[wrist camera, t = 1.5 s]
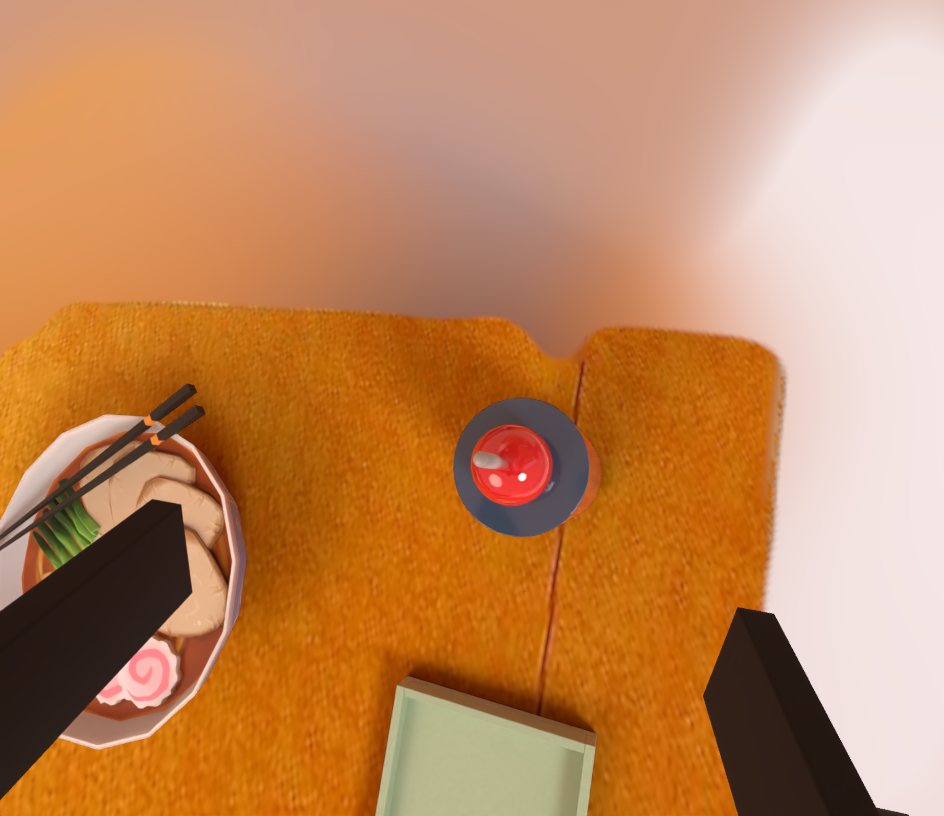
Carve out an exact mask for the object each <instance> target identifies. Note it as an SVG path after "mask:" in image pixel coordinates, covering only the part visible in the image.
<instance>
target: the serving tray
mask: <svg viewBox="0 0 944 816" xmlns="http://www.w3.org/2000/svg"><path fill="white" fill-rule="evenodd" d="M596 739H597V734H596V733H593V732H590V731H587V730H583V729H580V728H577V727H573V726H570V725H567V724H564V723H560V722H557V721H554V720H551V719H547V718H544V717H541V716H538V715H534V714H531V713H528V712H524V711H521V710H518V709H515V708H511V707H508V706H505V705H502V704H498V703H495V702H492V701H488V700H485V699H482V698H479V697H475V696H472V695H469V694H466V693H462V692H459V691H456V690H453V689H449V688H446V687H443V686H439V685H436V684H433V683H430V682H426V681H423V680H420V679H417V678H413V677H410V676H407V677H405V678H404V679H403V680H402V681H401V682H400V683H398V684H397V687H396V694H395V700H394V706H393V712H392V718H391V724H390V730H389V736H388V742H387V748H386V754H385V760H384V766H383V772H382V778H381V784H380V790H379V796H378V802H377V808H376V814H375V816H587V810H588V802H589V794H590V787H591V779H592V771H593V763H594V755H595V747H596Z"/></svg>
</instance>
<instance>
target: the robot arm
mask: <svg viewBox="0 0 944 816" xmlns="http://www.w3.org/2000/svg"><path fill="white" fill-rule="evenodd" d="M192 593H193V591H192V584H191V576H190V568H189V560H188V553H187V545H186V537H185V530H184V522H183V514H182V506H181V504H177V503H172V502H166V501H161V500H155V499H151V500H150V501H149V502H147V503H146V504H145V505H143V506H142V507H141V508H139V509H138V510H137V511H135V512H134V513H132V514H131V515H130V516H128V517H127V518H126V519H124V520H123V521H122V522H120V523H119V524H118V525H116V526H115V527H113V528H112V529H111V530H109V531H108V532H107V533H105V534H104V535H103V536H101V537H100V538H99V539H97V540H96V541H95V542H93V543H92V544H90V545H89V546H88V547H86V548H85V549H84V550H82V551H81V552H80V553H78V554H77V555H76V556H74V557H73V558H71V559H70V560H69V561H67V562H66V563H65V564H63V565H62V566H61V567H59V568H58V569H57V570H55V571H54V572H53V573H51V574H50V575H48V576H47V577H46V578H44V579H43V580H42V581H40V582H39V583H38V584H36V585H35V586H34V587H32V588H31V589H29V590H28V591H27V592H25V593H24V594H23V595H21V596H20V597H19V598H17V599H16V600H15V601H13V602H12V603H10V604H9V605H8V606H6V607H5V608H4V609H2V610H1V611H0V800H1V799H2V798H3V796H4V795H5V794H6V793H7V792H8V791H9V790H10V789H11V788H12V787H13V786H14V785H15V784H16V782H17V781H18V780H19V779H20V778H21V777H22V776H23V775H24V774H25V773H26V772H27V771H28V770H29V768H30V767H31V766H32V765H33V764H34V763H35V762H36V761H37V760H38V759H39V758H40V757H41V756H42V754H43V753H44V752H45V751H46V750H47V749H48V748H49V747H50V746H51V745H52V744H53V743H54V742H55V740H56V739H57V738H58V737H59V736H60V735H61V734H62V733H63V732H64V731H65V730H66V729H67V728H68V726H69V725H70V724H71V723H72V722H73V721H74V720H75V719H76V718H77V717H78V716H79V715H80V714H81V712H82V711H83V710H84V709H85V708H86V707H87V706H88V705H89V704H90V703H91V702H92V701H93V700H94V698H95V697H96V696H97V695H98V694H99V693H100V692H101V691H102V690H103V689H104V688H105V687H106V686H107V684H108V683H109V682H110V681H111V680H112V679H113V678H114V677H115V676H116V675H117V674H118V673H119V671H120V670H121V669H122V668H123V667H124V666H125V665H126V664H127V663H128V662H129V661H130V660H131V659H132V657H133V656H134V655H135V654H136V653H137V652H138V651H139V650H140V649H141V648H142V647H143V646H144V645H145V643H146V642H147V641H148V640H149V639H150V638H151V637H152V636H153V635H154V634H155V633H156V632H157V631H158V629H159V628H160V627H161V626H162V625H163V624H164V623H165V622H166V621H167V620H168V619H169V618H170V617H171V615H172V614H173V613H174V612H175V611H176V610H177V609H178V608H179V607H180V606H181V605H182V604H183V603H184V601H185V600H186V599H187V598H188V597H189V596H190V595H191V594H192ZM703 698H704V701H705V704H706V708H707V711H708V714H709V718H710V721H711V725H712V728H713V731H714V735H715V738H716V742H717V745H718V748H719V752H720V755H721V758H722V762H723V765H724V769H725V772H726V775H727V779H728V782H729V785H730V789H731V792H732V796H733V799H734V802H735V806H736V809H737V812H738V816H909V815H907V814H904V813H899V812H894V811H890V810H885V809H880V808H876V807H875V805H874V803H873V801H872V799H871V797H870V795H869V793H868V791H867V790H866V787H865V786H864V784H863V782H862V780H861V778H860V776H859V774H858V773H857V770H856V768H855V767H854V765H853V763H852V761H851V759H850V757H849V755H848V753H847V752H846V750H845V748H844V746H843V744H842V742H841V740H840V738H839V736H838V734H837V733H836V731H835V729H834V727H833V725H832V723H831V721H830V719H829V718H828V715H827V714H826V712H825V710H824V708H823V706H822V704H821V702H820V700H819V698H818V697H817V694H816V693H815V691H814V689H813V687H812V685H811V683H810V681H809V680H808V677H807V676H806V674H805V672H804V670H803V668H802V666H801V664H800V662H799V661H798V658H797V656H796V655H795V653H794V651H793V649H792V647H791V645H790V644H789V641H788V639H787V637H786V636H785V634H784V632H783V630H782V628H781V626H780V624H779V622H778V620H777V619H776V617H775V615H774V614H772V613H767V612H761V611H756V610H750V609H745V608H739V607H738V608H737V610H736V613H735V615H734V618H733V620H732V623H731V626H730V628H729V631H728V633H727V636H726V638H725V641H724V644H723V646H722V649H721V651H720V654H719V656H718V659H717V661H716V664H715V667H714V669H713V672H712V674H711V677H710V679H709V682H708V685H707V687H706V690H705V692H704V695H703Z"/></svg>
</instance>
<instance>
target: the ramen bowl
mask: <svg viewBox="0 0 944 816" xmlns="http://www.w3.org/2000/svg"><path fill="white" fill-rule="evenodd" d="M195 393H197V391H196V388H195V386H194V385H191V384H186V385H185V386H183V387H182V388H181V389H180V390H178V391H177V392H176V393H175V394H173V395H172V396H171V397H170V398H169V399H167V400H166V401H165V402H164V403H162V404H161V405H160V406H159V407H157V408H156V409H155V410H154V411H152V412H151V413H150V414H149V415H148V416H147V417H142V416H123V415H103V416H101V417H98V418H96V419H94V420H92V421H89V422H87V423H85V424H82V425H80V426H78V427H75V428H73V429H71V430H68V431H66V432H64V433H62V434H60V436H59V437H58V438H57V439H56V440H55V441H54V442H53V443H52V444H51V445H50V446H49V447H48V448H47V449H46V450H45V451H44V452H43V453H42V454H41V456H40V457H39V458H38V459H37V460H36V461H35V462H34V463H33V464H32V465H31V466H30V467H29V468H28V469H27V470H26V471H25V473H24V475H23V477H22V479H21V481H20V483H19V485H18V487H17V489H16V491H15V493H14V495H13V497H12V499H11V501H10V503H9V505H8V507H7V509H6V511H5V513H4V515H3V517H2V519H1V520H0V611H1V610H2V609H4V608H5V607H6V606H8V605H9V604H10V603H12V602H13V601H15V600H16V599H17V598H19V597H20V596H21V595H23V594H24V593H25V592H27V591H28V590H29V589H31V588H32V587H34V586H35V585H36V584H38V583H39V582H40V581H42V580H43V579H44V578H46V577H47V576H48V575H50V574H51V573H53V572H54V571H55V570H57V569H58V568H59V567H61V566H62V565H63V564H65V563H66V562H67V561H69V560H70V559H71V558H73V557H74V556H76V555H77V554H78V553H80V552H81V551H82V550H84V549H85V548H86V547H88V546H89V545H90V544H92V543H93V542H95V541H96V540H97V539H99V538H100V537H101V536H103V535H104V534H105V533H107V532H108V531H109V530H111V529H112V528H113V527H115V526H116V525H118V524H119V523H120V522H122V521H123V520H124V519H126V518H127V517H128V516H130V515H131V514H132V513H134V512H135V511H137V510H138V509H139V508H141V507H142V506H143V505H145V504H146V503H147V502H149V501H150V500H151V499H155V500H161V501H166V502H172V503H177V504H181V506H182V514H183V522H184V530H185V537H186V545H187V553H188V560H189V568H190V576H191V584H192V591H193V593H192V594H191V595H190V596H189V597H188V598H187V599H186V600H185V601H184V603H183V604H182V605H181V606H180V607H179V608H178V609H177V610H176V611H175V612H174V613H173V614H172V615H171V617H170V618H169V619H168V620H167V621H166V622H165V623H164V624H163V625H162V626H161V627H160V628H159V629H158V631H157V632H156V633H155V634H154V635H153V636H152V637H151V638H150V639H149V640H148V641H147V642H146V643H145V645H144V646H143V647H142V648H141V649H140V650H139V651H138V652H137V653H136V654H135V655H134V656H133V657H132V659H131V660H130V661H129V662H128V663H127V664H126V665H125V666H124V667H123V668H122V669H121V670H120V671H119V673H118V674H117V675H116V676H115V677H114V678H113V679H112V680H111V681H110V682H109V683H108V684H107V686H106V687H105V688H104V689H103V690H102V691H101V692H100V693H99V694H98V695H97V696H96V697H95V698H94V700H93V701H92V702H91V703H90V704H89V705H88V706H87V707H86V708H85V709H84V710H83V711H82V712H81V714H80V715H79V716H78V717H77V718H76V719H75V720H74V721H73V722H72V723H71V724H70V725H69V726H68V728H67V729H66V730H65V731H64V732H63V733H62V734H61V735H60V736H59V738H62V739H65V740H68V741H71V742H75V743H78V744H81V745H84V746H88V747H91V748H94V749H97V750H98V749H102V748H106V747H110V746H114V745H119V744H123V743H127V742H131V741H135V740H139V739H144V738H148V737H150V736H151V735H152V734H153V733H154V732H155V731H156V730H157V729H159V728H160V727H161V726H162V725H163V724H164V723H165V722H166V721H167V720H168V719H170V718H171V717H172V716H173V715H174V714H175V713H176V712H177V711H178V710H179V709H181V708H182V707H183V706H184V705H185V704H186V703H187V702H188V701H189V700H190V699H191V698H193V697H194V696H195V695H196V693H197V692H198V690H199V689H200V688H201V686H202V685H203V683H204V682H205V681H206V679H207V678H208V676H209V674H210V672H211V670H212V668H213V666H214V664H215V662H216V660H217V658H218V656H219V654H220V652H221V650H222V648H223V646H224V644H225V642H226V640H227V638H228V636H229V634H230V632H231V630H232V628H233V626H234V624H235V622H236V620H237V618H238V615H239V613H240V607H241V600H242V592H243V584H244V576H245V568H246V561H247V553H246V548H245V542H244V537H243V531H242V526H241V520H240V515H239V510H238V505H237V504H236V502H235V500H234V499H233V497H232V496H231V494H230V492H229V491H228V489H227V488H226V486H225V484H224V483H223V481H222V480H221V478H220V476H219V475H218V473H217V472H216V470H215V468H214V467H213V465H212V464H211V462H210V461H209V460H208V458H207V457H206V455H205V454H204V453H202V452H201V451H200V450H199V449H198V448H196V447H195V446H194V445H193V444H191V443H190V442H188V441H187V440H185V439H184V438H182V437H181V436H179V435H178V434H176V433H178V432H179V431H181V430H182V429H184V428H185V427H187V426H188V425H190V424H191V423H193V422H194V421H196V420H197V419H199V418H200V417H202V416H203V415H205V412H204V409H203V406H197V405H195V406H194V407H192V408H191V409H189V410H188V411H187V412H185V413H184V414H183V415H181V416H180V417H178V418H177V419H176V420H174V421H173V422H171V423H170V424H169V425H167V426H164V425H163V424H161V423H160V422H158V421H160V420H161V419H162V418H164V417H165V416H166V415H168V414H169V413H170V412H172V411H173V410H174V409H176V408H177V407H178V406H180V405H181V404H182V403H184V402H185V401H186V400H187V399H189V398H190V397H191V396H193V395H194V394H195Z"/></svg>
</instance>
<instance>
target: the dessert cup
mask: <svg viewBox="0 0 944 816" xmlns="http://www.w3.org/2000/svg"><path fill="white" fill-rule="evenodd" d="M453 471H454V480H455V484H456V488H457V491H458V494H459V496H460V498H461V500H462V502H463V504H464V505H465V507H466V508H467V510H468V511H469V512H470V513H471V514H472V516H473V517H474V518H475V519H477V520H478V521H479V522H480V523H481V524H483V525H484V526H486V527H487V528H489V529H491V530H493V531H495V532H498V533H501V534H504V535H508V536H513V537H529V536H535V535H540V534H543V533H545V532H548V531H550V530H552V529H554V528H556V527H558V526H559V525H561V524H563V523H565V522H567V521H568V520H570V519H572V518H574V517H575V516H577V515H579V514H580V513H582V512H583V511H584V510H585V509H586V508H587V507H589V505H590V504H591V503H592V502H593V500H594V498H595V497H596V495H597V492H598V490H599V487H600V483H601V463H600V459H599V456H598V454H597V451H596V449H595V448H594V446H593V444H592V443H591V442H590V441H589V439H588V438H587V437H586V436H585V435H584V434H583V433H582V432H581V430H580V429H579V428H578V427H577V426H576V425H575V424H574V423H573V422H572V420H571V419H570V418H569V417H567V416H566V415H565V414H564V413H563V412H562V411H560V410H559V409H557V408H556V407H554V406H552V405H550V404H548V403H545V402H543V401H540V400H536V399H530V398H512V399H506V400H503V401H499V402H497V403H495V404H492V405H490V406H488V407H487V408H485V409H483V410H482V411H481V412H480V413H478V414H477V415H476V416H475V417H474V418H473V419H472V420H471V421H470V422H469V424H468V425H467V426H466V428H465V429H464V431H463V433H462V434H461V436H460V438H459V441H458V443H457V446H456V450H455V455H454V463H453Z"/></svg>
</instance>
